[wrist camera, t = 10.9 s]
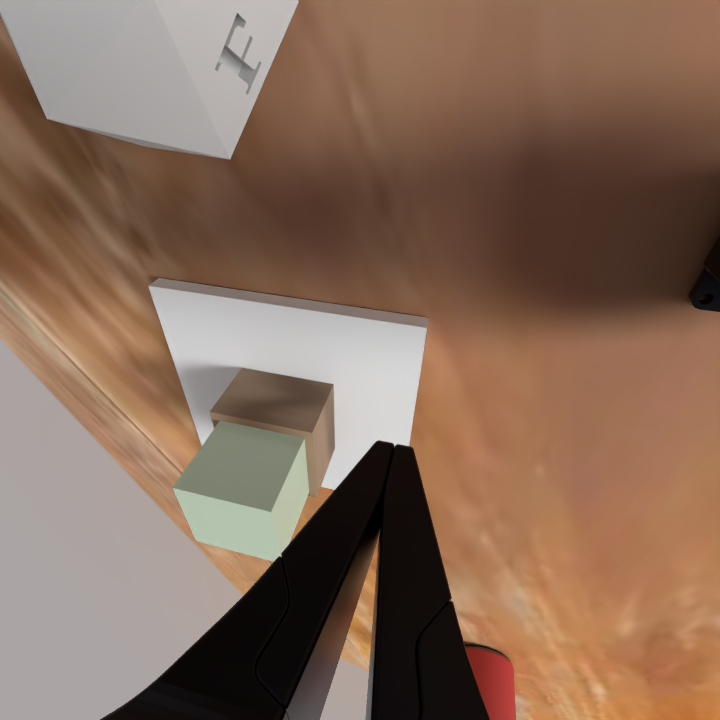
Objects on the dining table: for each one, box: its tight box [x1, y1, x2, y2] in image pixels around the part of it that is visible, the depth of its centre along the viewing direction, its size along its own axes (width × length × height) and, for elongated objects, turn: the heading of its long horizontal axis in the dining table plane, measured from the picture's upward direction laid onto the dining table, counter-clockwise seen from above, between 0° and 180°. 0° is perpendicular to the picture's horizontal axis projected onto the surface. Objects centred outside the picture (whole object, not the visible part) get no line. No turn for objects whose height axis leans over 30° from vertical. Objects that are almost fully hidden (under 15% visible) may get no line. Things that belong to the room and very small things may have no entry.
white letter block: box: [0, 0, 299, 159], centre depth 13 cm, size 8×9×10 cm
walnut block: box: [209, 368, 335, 498], centre depth 25 cm, size 6×6×4 cm
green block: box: [173, 421, 309, 562], centre depth 22 cm, size 5×5×4 cm
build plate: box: [149, 278, 429, 490], centre depth 27 cm, size 16×16×1 cm
